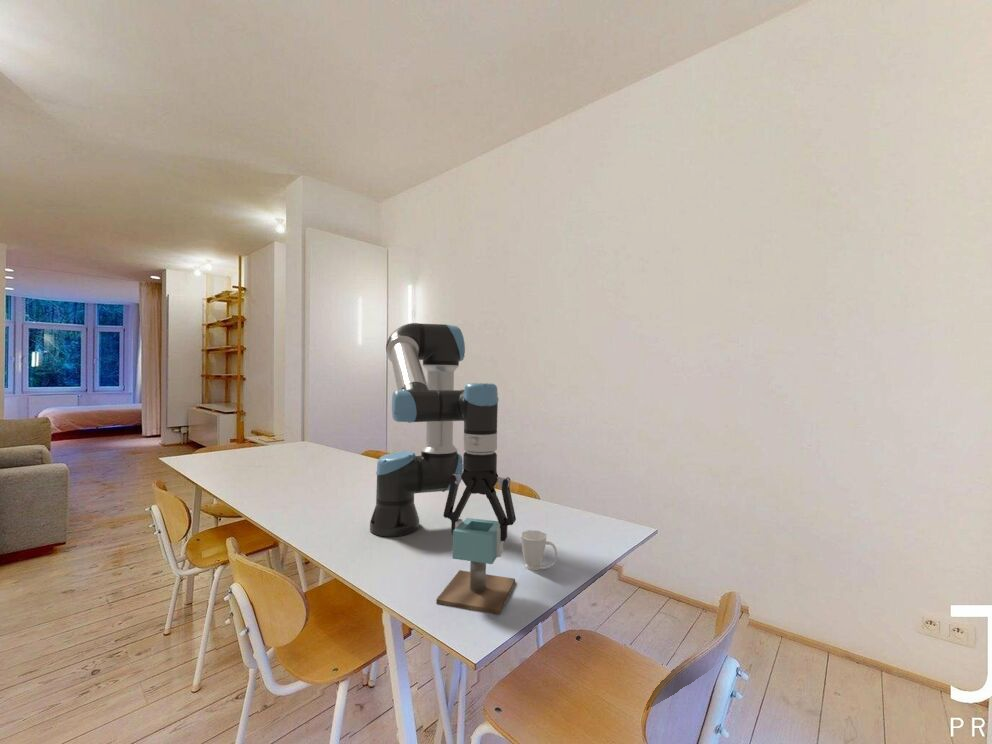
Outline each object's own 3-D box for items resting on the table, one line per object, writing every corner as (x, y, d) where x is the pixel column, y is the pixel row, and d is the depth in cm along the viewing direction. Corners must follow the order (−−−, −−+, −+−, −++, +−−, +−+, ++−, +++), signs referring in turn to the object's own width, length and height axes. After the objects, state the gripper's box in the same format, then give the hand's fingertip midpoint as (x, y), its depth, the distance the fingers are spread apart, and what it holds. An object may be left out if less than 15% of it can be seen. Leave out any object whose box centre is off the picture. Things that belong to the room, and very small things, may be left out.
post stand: (436, 603, 91) (437, 557, 91) (459, 573, 104) (460, 533, 104) (499, 614, 87) (500, 566, 87) (515, 582, 100) (515, 540, 100)
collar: (452, 558, 92) (452, 530, 92) (466, 543, 101) (466, 517, 101) (492, 564, 90) (492, 535, 90) (503, 547, 98) (503, 521, 98)
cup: (525, 558, 113) (526, 528, 113) (561, 566, 109) (562, 535, 109) (514, 568, 107) (515, 537, 107) (552, 578, 102) (553, 545, 102)
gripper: (428, 451, 95) (427, 552, 95) (524, 457, 89) (522, 565, 89) (442, 446, 102) (440, 540, 102) (530, 451, 96) (529, 551, 96)
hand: (478, 551), depth 95 cm, fingers closed on collar, 9 cm apart
